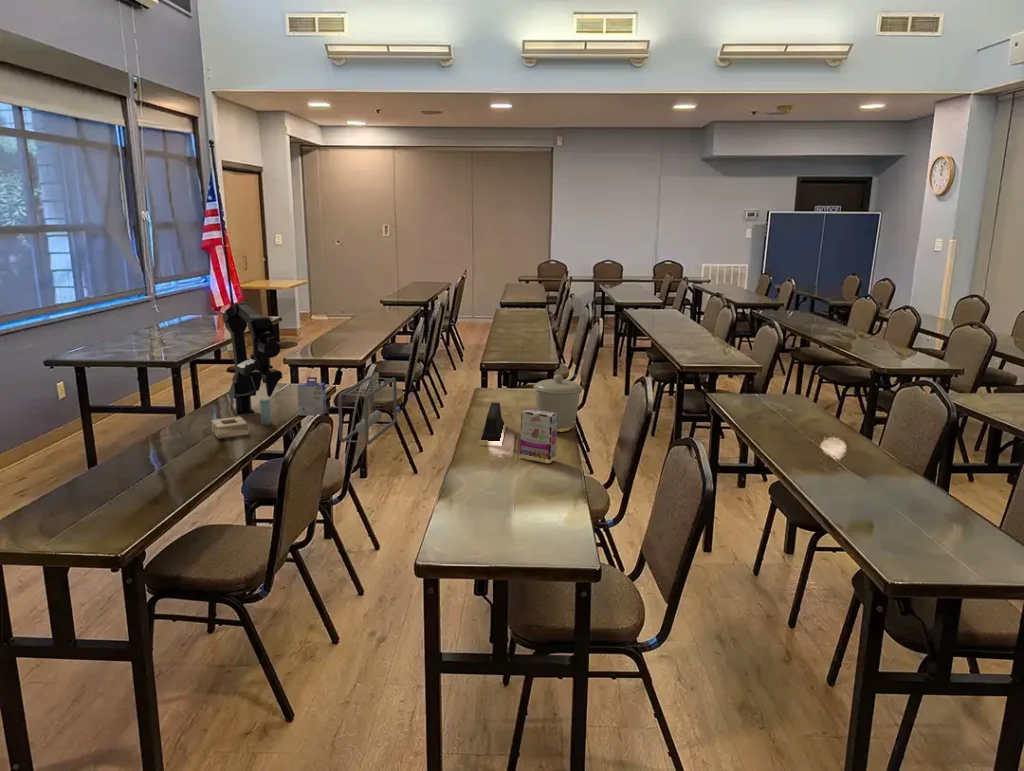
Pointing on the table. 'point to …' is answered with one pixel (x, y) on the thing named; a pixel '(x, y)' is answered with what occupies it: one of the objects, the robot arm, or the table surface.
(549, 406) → the canister
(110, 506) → the table surface
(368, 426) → the cube frame
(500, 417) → the barrier
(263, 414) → the pin
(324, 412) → the ink cartridge box
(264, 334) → the robot arm
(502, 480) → the table surface
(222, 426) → the jig block
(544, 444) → the candy bar box
